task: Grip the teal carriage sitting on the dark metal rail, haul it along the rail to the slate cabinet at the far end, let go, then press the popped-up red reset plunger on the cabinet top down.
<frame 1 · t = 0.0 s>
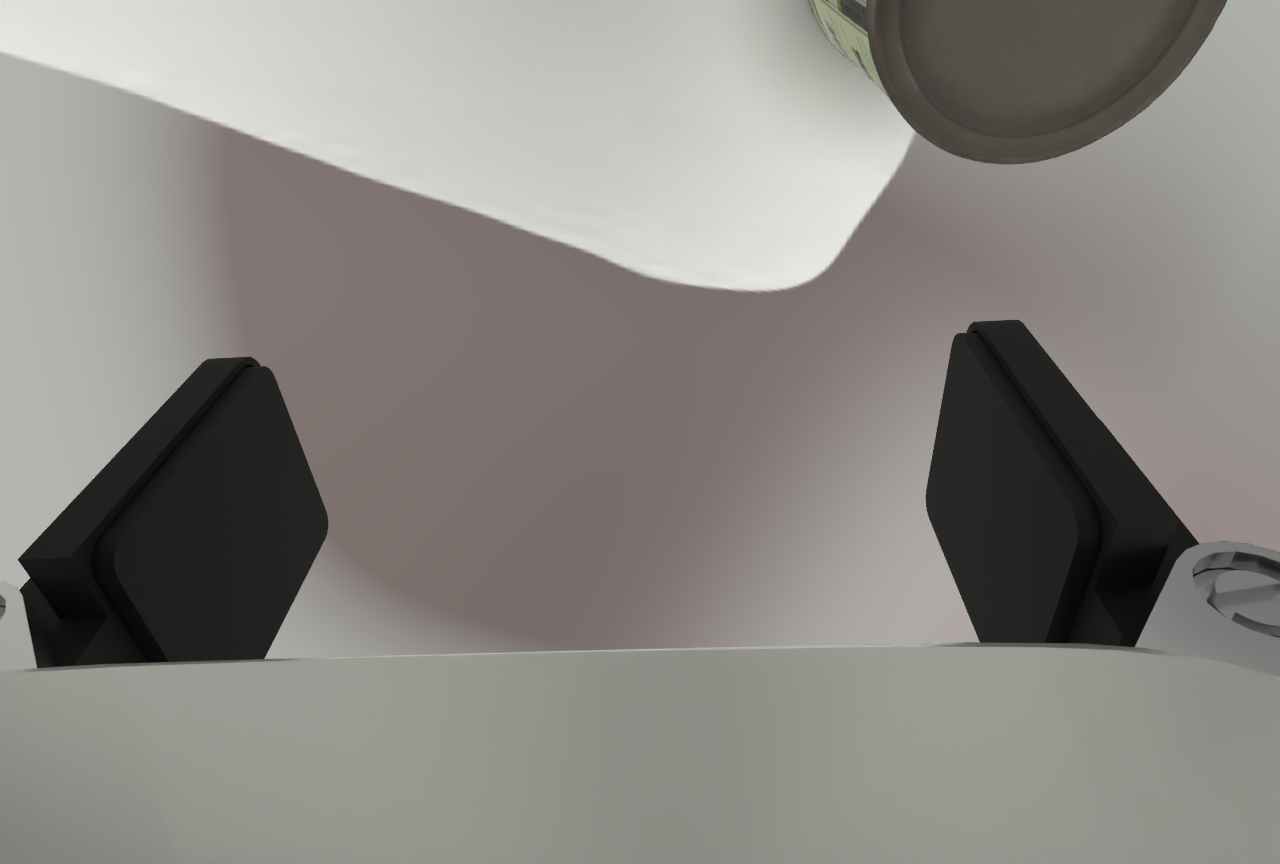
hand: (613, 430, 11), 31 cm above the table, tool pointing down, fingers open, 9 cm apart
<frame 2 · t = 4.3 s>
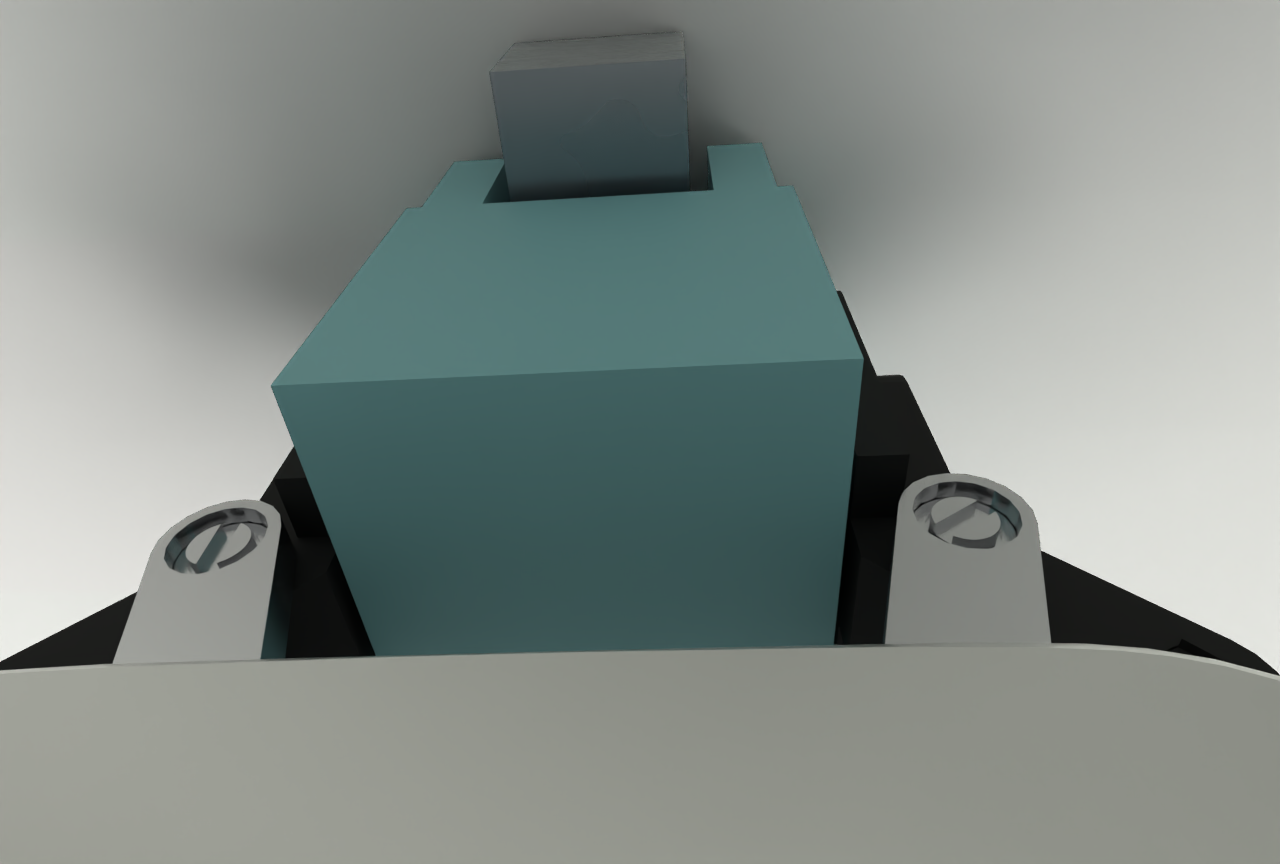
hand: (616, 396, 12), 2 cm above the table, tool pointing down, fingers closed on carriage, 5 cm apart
carriage: (612, 440, 11), point 4 cm above the table, slide at 0.0 cm, touching gripper
rail: (643, 552, 17), on the table
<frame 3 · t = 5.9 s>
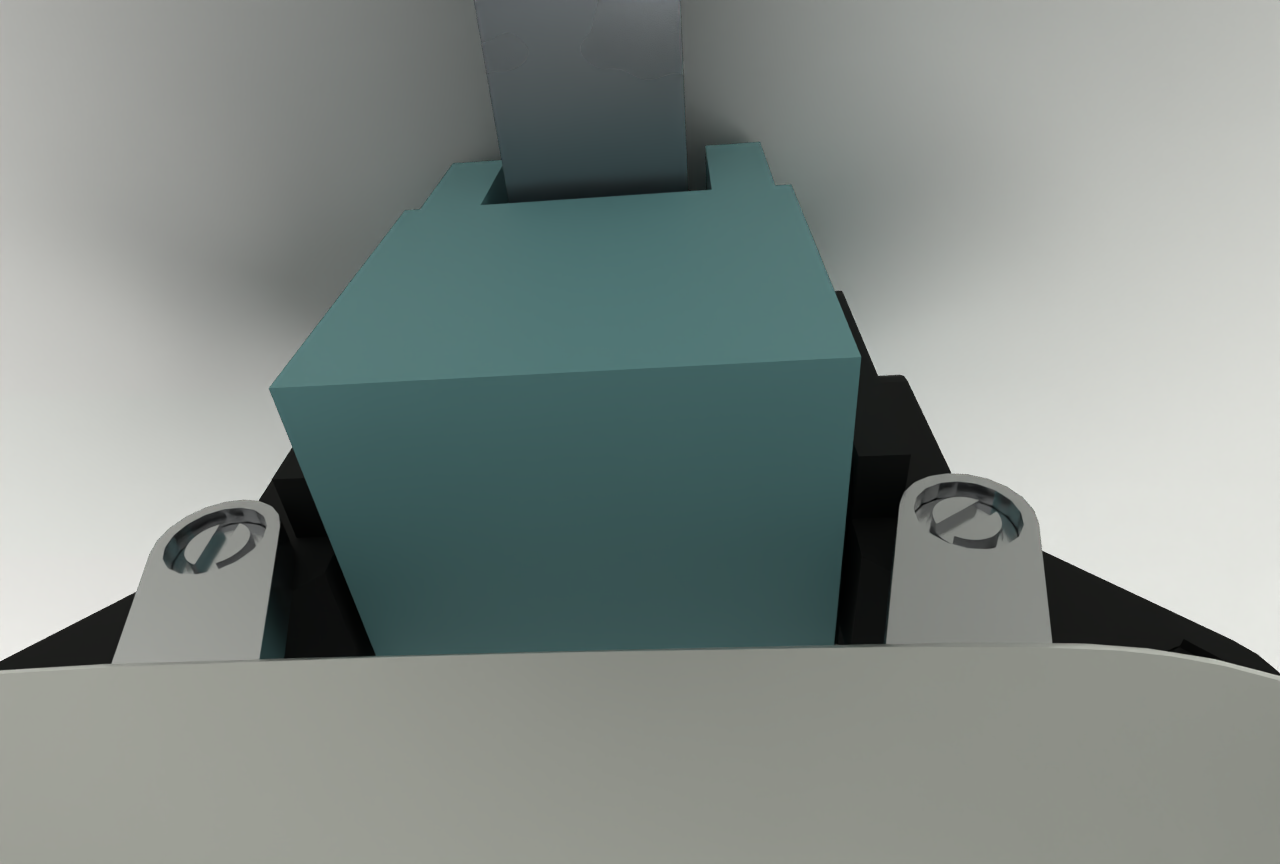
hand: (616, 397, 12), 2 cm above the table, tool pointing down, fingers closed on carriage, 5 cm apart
carriage: (612, 441, 11), point 4 cm above the table, slide at 5.5 cm, touching gripper
rail: (623, 324, 14), on the table
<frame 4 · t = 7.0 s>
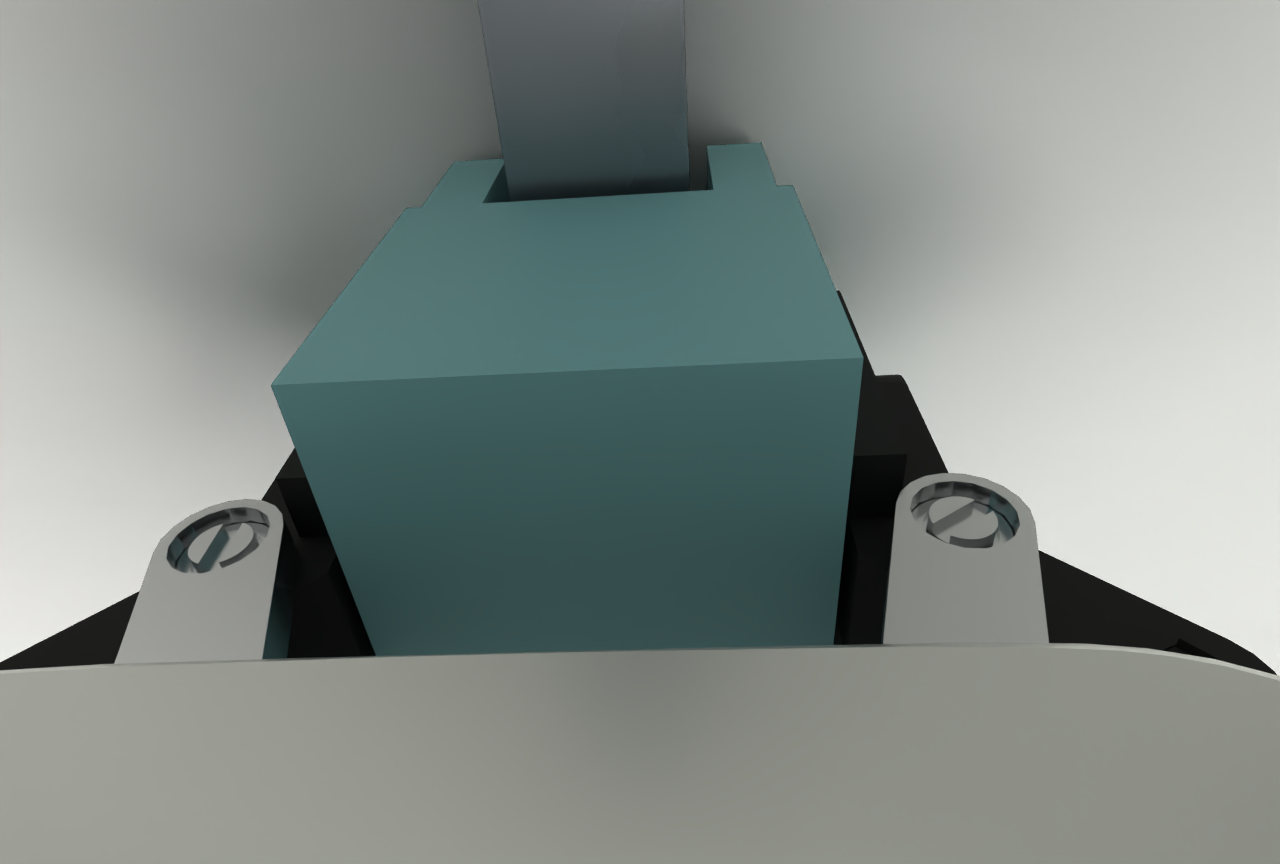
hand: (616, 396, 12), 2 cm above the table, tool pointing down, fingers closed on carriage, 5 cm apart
carriage: (612, 440, 11), point 4 cm above the table, slide at 10.9 cm, touching gripper
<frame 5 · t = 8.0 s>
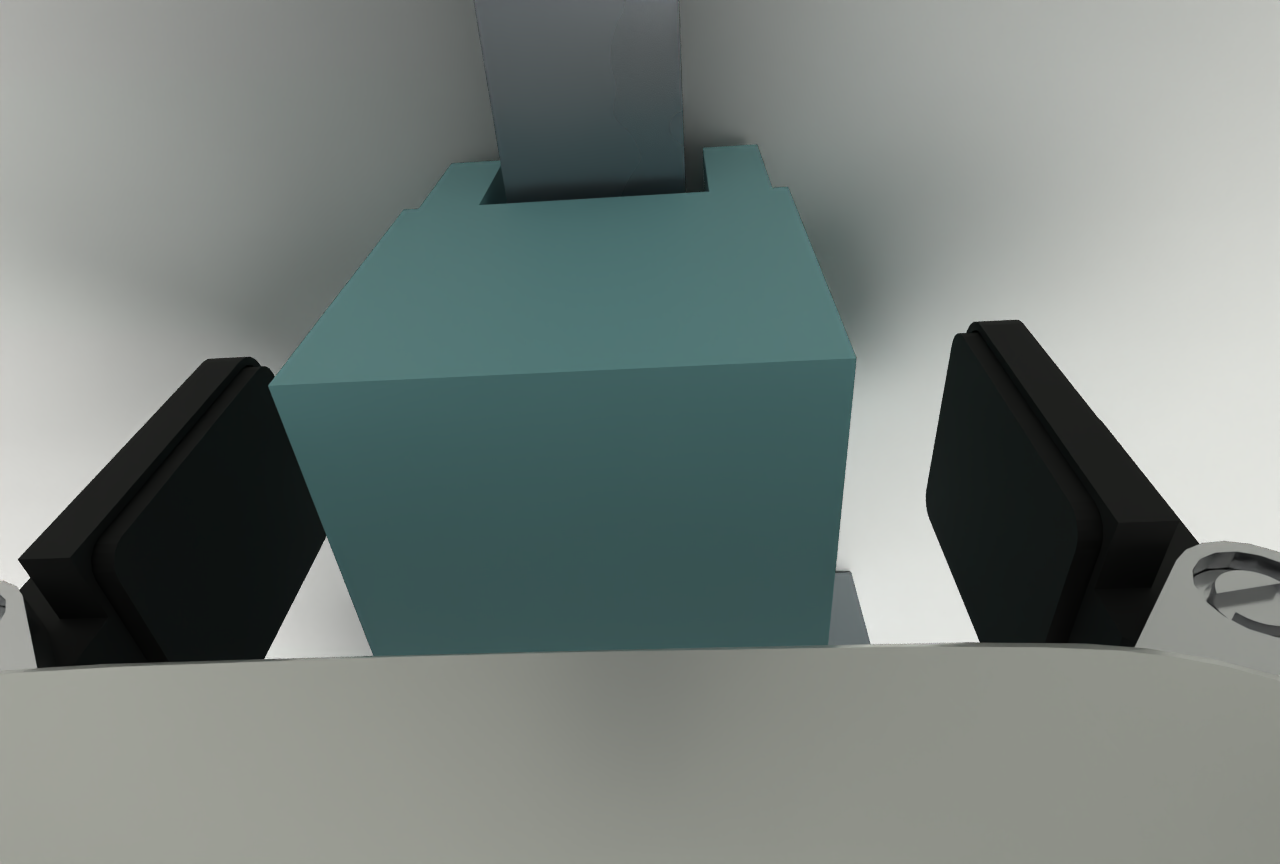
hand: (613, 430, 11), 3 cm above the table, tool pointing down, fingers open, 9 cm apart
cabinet: (650, 661, 19), on the table
carriage: (608, 440, 11), point 4 cm above the table, slide at 11.0 cm
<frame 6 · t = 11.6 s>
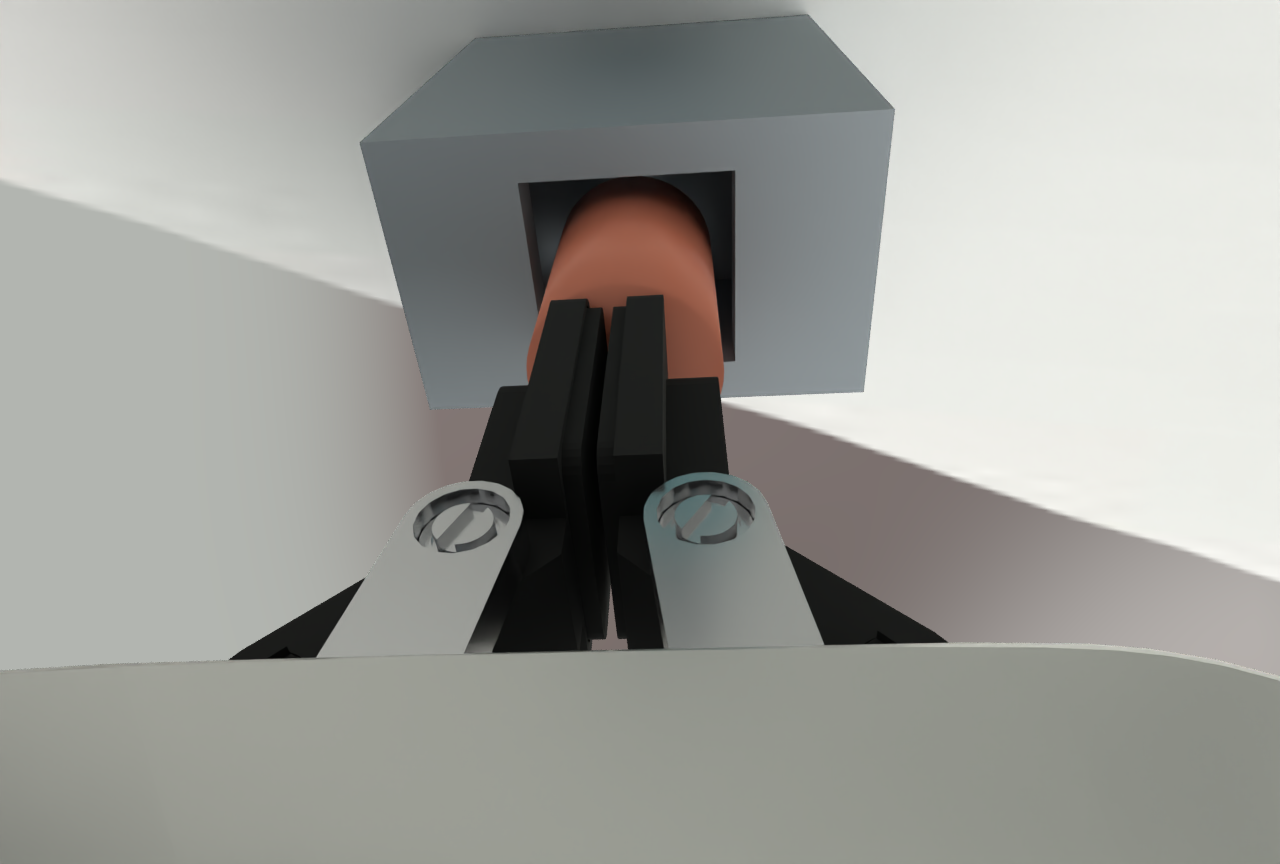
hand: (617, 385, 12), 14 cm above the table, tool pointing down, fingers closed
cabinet: (646, 132, 23), on the table
plunger: (631, 304, 14), point 11 cm above the table, slide at 0.5 cm, touching gripper
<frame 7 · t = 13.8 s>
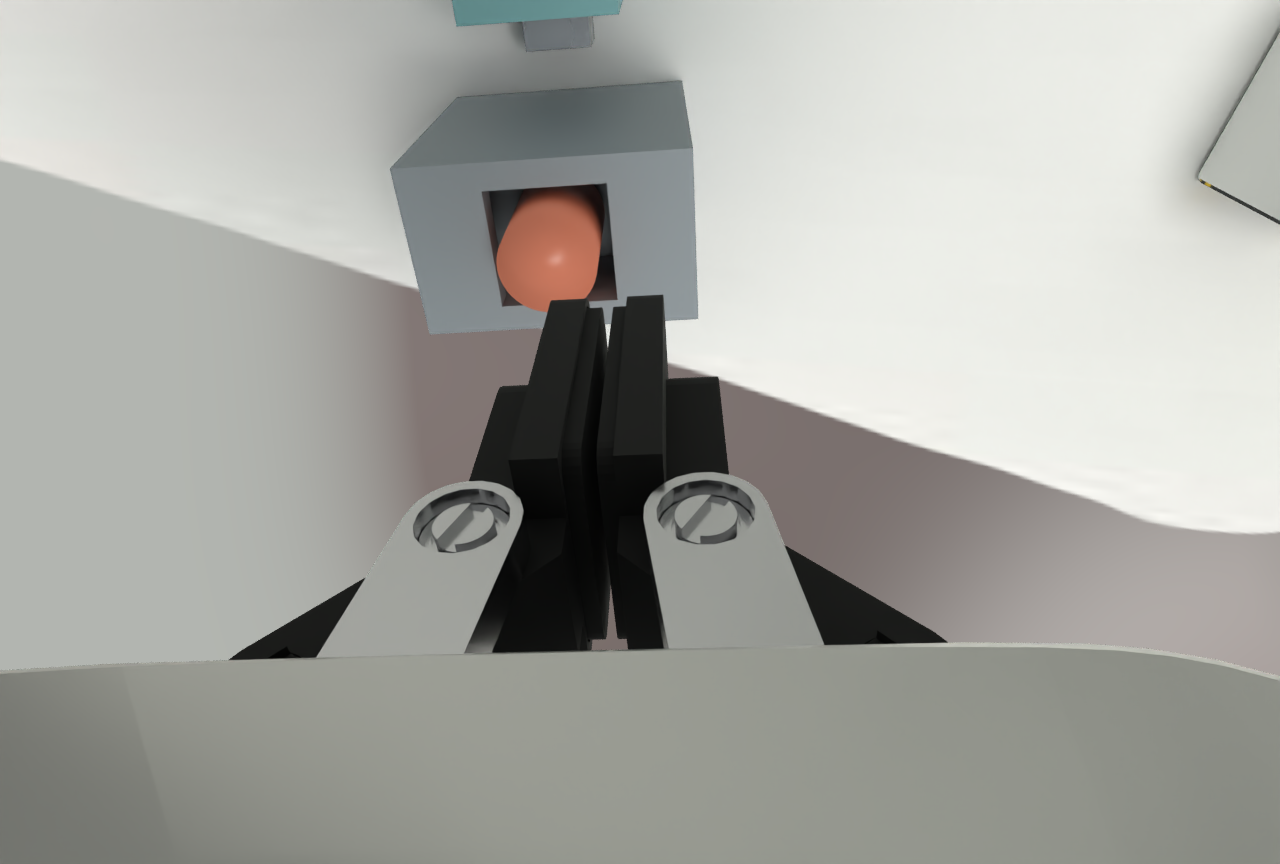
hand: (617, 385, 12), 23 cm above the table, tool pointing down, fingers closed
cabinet: (576, 159, 33), on the table
plunger: (554, 237, 26), point 9 cm above the table, slide at 2.5 cm
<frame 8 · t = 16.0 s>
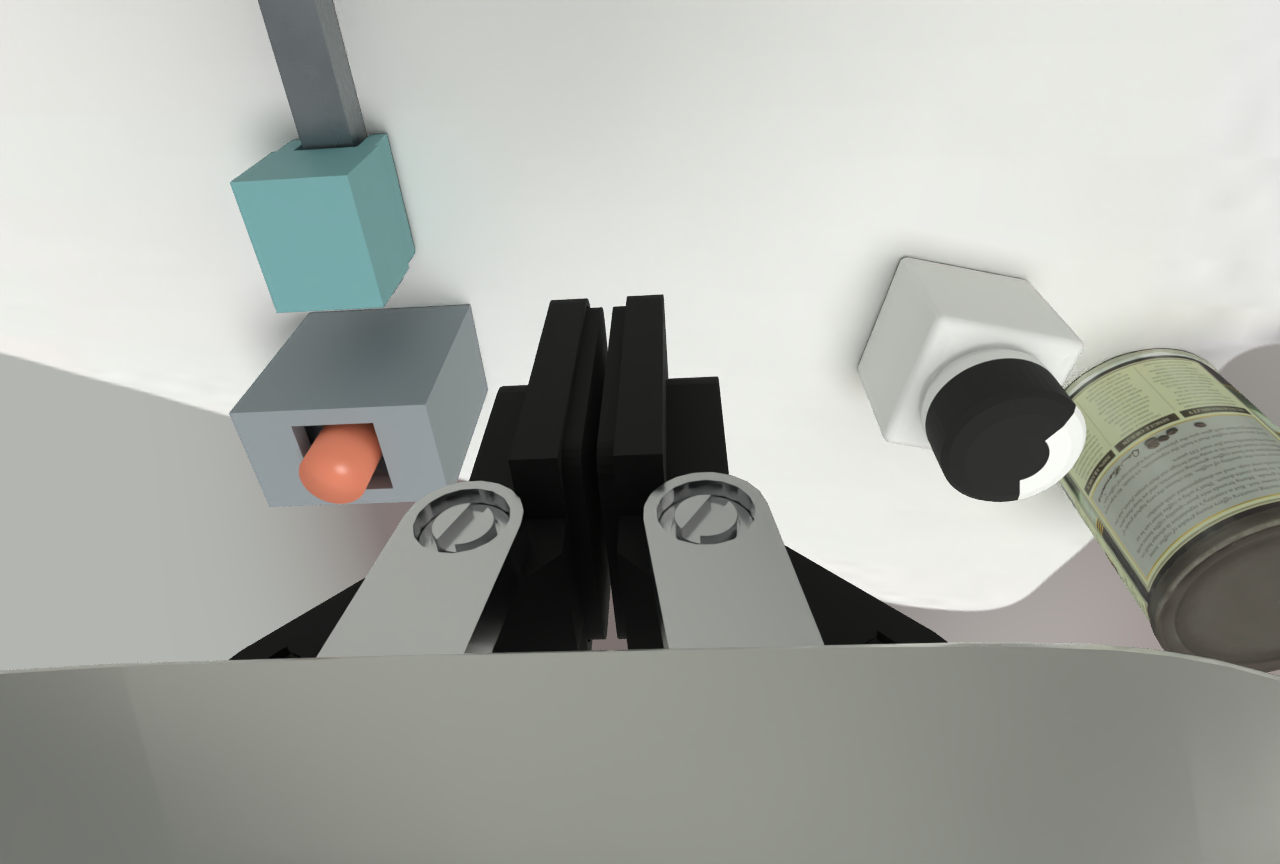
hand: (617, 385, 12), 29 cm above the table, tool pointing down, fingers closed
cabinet: (401, 352, 45), on the table
coffee can: (1128, 420, 47), on the table
medicine bottle: (938, 324, 44), on the table
plunger: (349, 446, 38), point 9 cm above the table, slide at 2.5 cm
carriage: (335, 221, 37), point 4 cm above the table, slide at 11.0 cm
rail: (327, 79, 37), on the table
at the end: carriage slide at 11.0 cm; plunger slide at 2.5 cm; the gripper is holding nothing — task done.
